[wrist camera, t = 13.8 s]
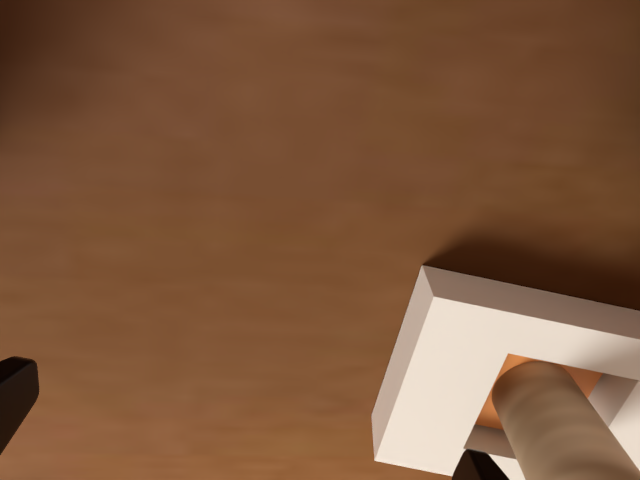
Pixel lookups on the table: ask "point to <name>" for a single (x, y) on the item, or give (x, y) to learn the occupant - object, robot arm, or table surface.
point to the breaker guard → (495, 366)
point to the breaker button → (580, 376)
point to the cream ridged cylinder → (557, 427)
